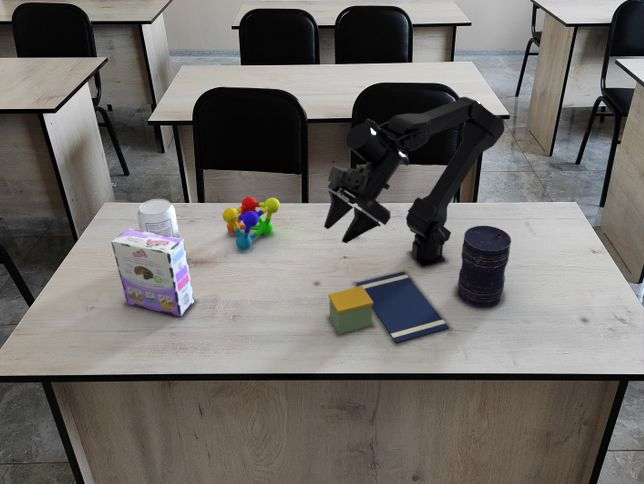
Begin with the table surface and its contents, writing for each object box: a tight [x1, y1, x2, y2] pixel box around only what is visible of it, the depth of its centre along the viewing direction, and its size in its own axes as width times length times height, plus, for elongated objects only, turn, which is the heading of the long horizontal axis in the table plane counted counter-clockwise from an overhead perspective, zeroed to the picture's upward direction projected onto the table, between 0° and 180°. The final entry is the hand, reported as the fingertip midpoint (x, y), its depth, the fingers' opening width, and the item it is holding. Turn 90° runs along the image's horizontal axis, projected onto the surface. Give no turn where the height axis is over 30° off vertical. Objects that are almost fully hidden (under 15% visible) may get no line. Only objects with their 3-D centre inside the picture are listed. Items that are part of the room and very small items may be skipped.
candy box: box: [110, 228, 195, 317], centre depth 127 cm, size 14×6×16 cm, turn 71°
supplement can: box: [136, 198, 181, 239], centre depth 141 cm, size 8×8×15 cm
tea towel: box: [356, 271, 450, 344], centre depth 130 cm, size 12×21×1 cm, turn 22°
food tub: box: [327, 286, 373, 335], centre depth 124 cm, size 8×6×6 cm
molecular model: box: [222, 196, 281, 251], centre depth 148 cm, size 15×12×15 cm
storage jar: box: [457, 225, 512, 309], centre depth 130 cm, size 10×10×15 cm
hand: (334, 234), depth 123 cm, fingers open, 9 cm apart
